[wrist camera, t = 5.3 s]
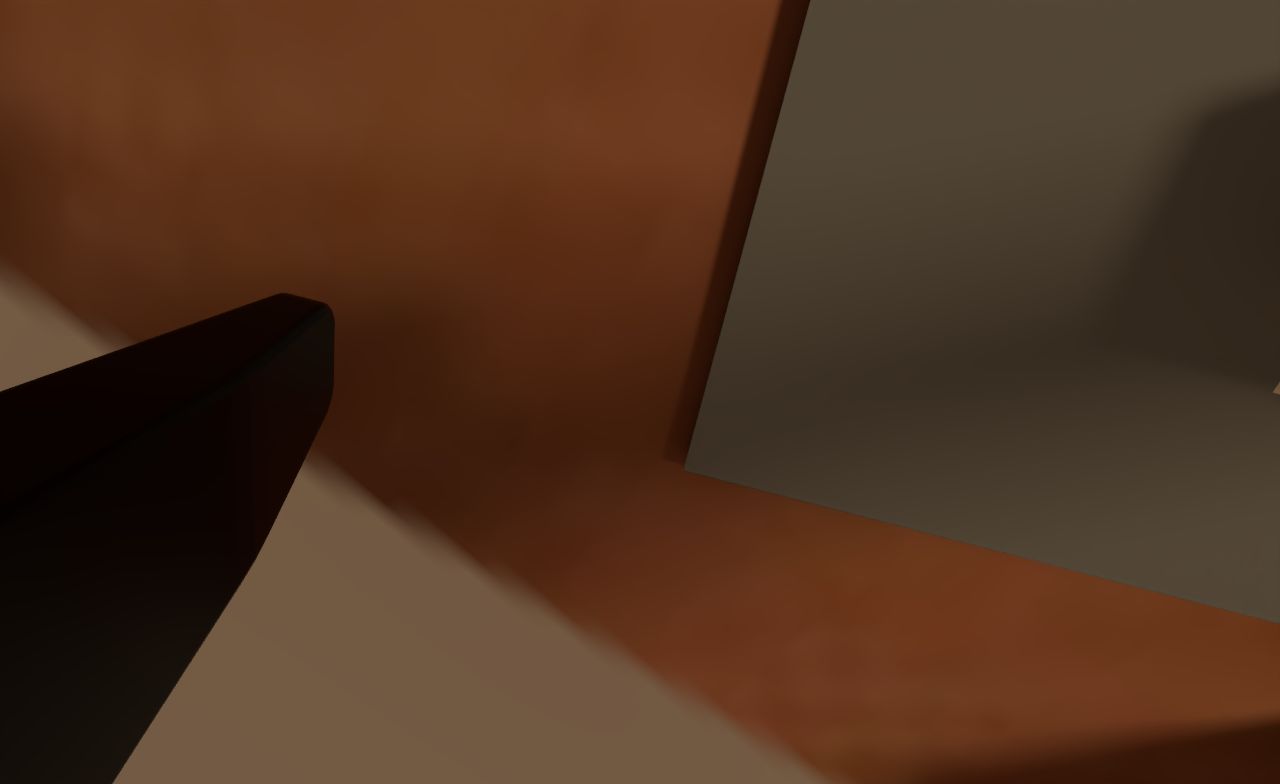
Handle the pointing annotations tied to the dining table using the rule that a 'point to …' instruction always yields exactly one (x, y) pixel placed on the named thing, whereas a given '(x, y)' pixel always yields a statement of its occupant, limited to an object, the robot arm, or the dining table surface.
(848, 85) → the flip mat
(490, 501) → the dining table surface
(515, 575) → the dining table surface
